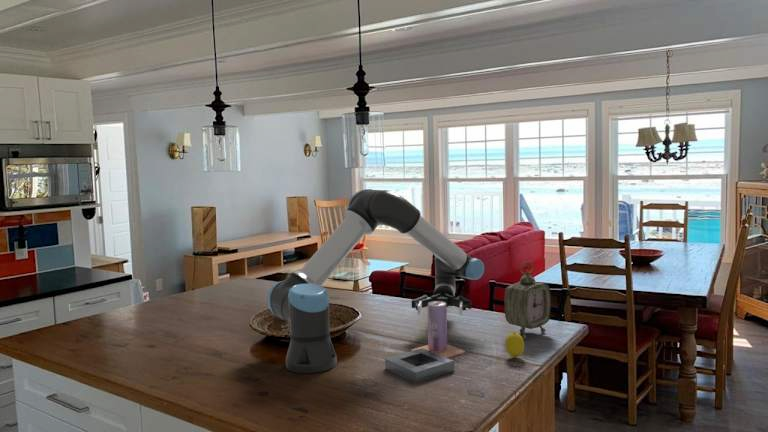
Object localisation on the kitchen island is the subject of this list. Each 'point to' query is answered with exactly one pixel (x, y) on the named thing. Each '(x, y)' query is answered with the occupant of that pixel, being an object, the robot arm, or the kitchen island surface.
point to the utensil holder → (279, 324)
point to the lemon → (514, 344)
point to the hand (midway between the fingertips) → (439, 310)
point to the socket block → (430, 369)
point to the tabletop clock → (527, 303)
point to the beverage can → (437, 326)
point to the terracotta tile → (448, 353)
